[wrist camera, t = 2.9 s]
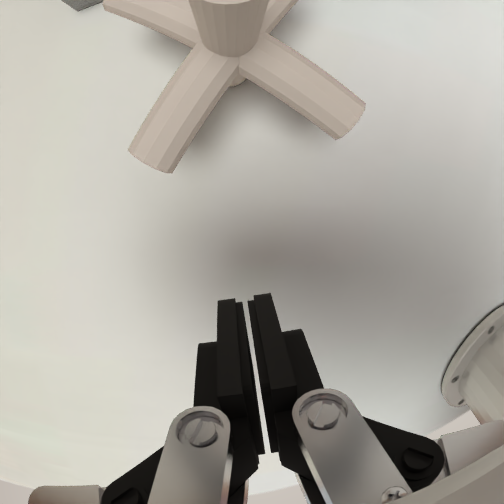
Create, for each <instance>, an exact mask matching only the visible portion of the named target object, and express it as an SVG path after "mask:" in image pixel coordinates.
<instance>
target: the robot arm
mask: <svg viewBox="0 0 504 504" xmlns="http://www.w3.org/2000/svg"><path fill="white" fill-rule="evenodd" d="M248 308H249V314H250V321H251V328H252V335H253V341H254V348H255V355H256V361H257V368H258V374H259V381H260V387H261V394H262V400H263V406H264V412H265V419H266V425H267V431H268V437H269V443H270V449H271V453H274V452H279V458H280V461H281V464H282V466H284V467H286V468H288V469H290V470H292V471H294V472H295V475H296V478H297V480H298V483H299V485H300V487H301V490H302V492H303V494H304V497H305V499H306V501H307V503H308V504H504V305H503V306H501V307H500V308H498V309H496V310H495V311H494V312H492V313H491V314H490V315H489V316H487V317H486V318H485V319H484V320H483V321H482V322H481V323H480V324H479V325H478V326H477V327H476V328H475V329H474V331H473V332H472V333H471V334H470V335H469V336H468V337H467V339H466V340H465V341H464V343H463V344H462V345H461V347H460V348H459V350H458V351H457V353H456V354H455V356H454V357H453V359H452V361H451V363H450V364H449V366H448V368H447V371H446V373H445V376H444V378H443V383H442V395H443V397H444V399H445V400H446V401H447V403H448V404H449V405H451V406H454V407H460V406H465V405H468V406H469V408H470V409H471V411H472V412H473V413H474V415H475V416H476V418H477V419H478V421H479V422H480V424H481V425H479V426H475V427H472V428H468V429H465V430H461V431H457V432H453V433H449V434H445V435H441V437H440V438H439V439H436V440H431V439H429V438H427V437H423V436H420V435H417V434H413V433H410V432H407V431H404V430H401V429H397V428H394V427H391V426H388V425H385V424H382V423H379V422H377V421H374V420H371V419H368V418H365V417H363V416H362V415H361V414H360V412H359V411H358V409H357V408H356V406H355V405H354V403H353V402H352V400H351V399H350V398H349V397H348V396H347V395H345V394H344V393H342V392H340V391H337V390H333V389H324V387H323V384H322V382H321V379H320V376H319V373H318V371H317V368H316V365H315V363H314V360H313V357H312V355H311V352H310V349H309V346H308V344H307V341H306V339H305V336H304V333H303V331H302V329H297V330H291V331H285V332H281V328H280V324H279V321H278V317H277V314H276V310H275V307H274V303H273V300H272V296H271V293H268V294H261V295H254V300H251V301H248ZM260 454H265V449H264V442H263V435H262V428H261V421H260V414H259V407H258V400H257V393H256V385H255V378H254V371H253V364H252V358H251V353H250V347H249V341H248V335H247V328H246V322H245V316H244V310H243V304H242V302H238V303H236V301H235V298H234V299H227V300H219V301H218V310H217V342H208V343H199V345H198V352H197V364H196V377H195V391H194V406H193V408H189V409H186V410H185V411H183V412H181V413H180V414H179V415H178V416H177V417H176V418H175V419H174V420H173V422H172V424H171V426H170V428H169V431H168V435H167V438H166V441H165V445H164V446H163V447H162V448H160V449H159V450H158V451H156V452H155V453H154V454H152V455H151V456H150V457H148V458H147V459H145V460H144V461H143V462H141V463H140V464H138V465H137V466H136V467H134V468H133V469H131V470H130V471H128V472H127V473H126V474H124V475H123V476H121V477H120V478H118V479H117V480H115V481H114V482H112V483H111V484H110V485H109V486H108V487H102V488H101V487H100V486H99V485H87V486H41V487H38V488H36V489H35V490H34V491H33V492H32V493H31V495H30V497H29V501H28V504H247V499H248V487H249V480H248V478H249V477H250V476H251V475H252V474H253V473H254V472H255V471H256V470H257V469H258V464H259V458H258V455H260Z"/></svg>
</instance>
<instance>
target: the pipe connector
mask: <svg viewBox="0 0 504 504" xmlns="http://www.w3.org/2000/svg"><path fill="white" fill-rule="evenodd" d="M297 1H298V0H103V6H104V9H105V10H106V11H108V12H111V13H114V14H116V15H119V16H122V17H124V18H127V19H129V20H132V21H134V22H137V23H139V24H142V25H144V26H146V27H149V28H151V29H153V30H155V31H158V32H160V33H162V34H164V35H166V36H169V37H171V38H173V39H175V40H177V41H179V42H181V43H183V44H185V45H187V46H189V47H191V48H193V49H192V50H191V51H190V53H189V54H188V56H187V57H186V58H185V60H184V61H183V62H182V64H181V65H180V67H179V68H178V69H177V71H176V72H175V74H174V75H173V77H172V78H171V80H170V81H169V82H168V84H167V85H166V87H165V88H164V90H163V92H162V93H161V95H160V96H159V98H158V99H157V101H156V102H155V104H154V106H153V107H152V109H151V110H150V112H149V114H148V115H147V117H146V119H145V120H144V122H143V124H142V125H141V127H140V129H139V131H138V132H137V134H136V136H135V138H134V139H133V141H132V143H131V145H130V147H129V148H128V151H129V152H130V153H131V154H132V155H133V156H134V157H136V158H137V159H138V160H140V161H141V162H143V163H145V164H147V165H149V166H151V167H153V168H154V169H157V170H160V171H162V172H165V173H173V171H174V169H175V168H176V166H177V164H178V163H179V161H180V159H181V158H182V156H183V154H184V153H185V151H186V150H187V148H188V146H189V145H190V143H191V142H192V140H193V139H194V137H195V135H196V134H197V132H198V131H199V129H200V128H201V126H202V125H203V123H204V122H205V120H206V119H207V117H208V116H209V114H210V113H211V111H212V110H213V108H214V107H215V105H216V104H217V102H218V101H219V100H220V98H221V97H222V95H223V94H224V92H225V91H226V90H227V88H228V87H231V86H237V85H239V84H241V83H242V82H244V81H245V80H246V78H247V79H248V80H250V81H252V82H253V83H255V84H256V85H258V86H260V87H261V88H263V89H264V90H266V91H267V92H269V93H271V94H272V95H274V96H275V97H277V98H278V99H280V100H281V101H283V102H284V103H286V104H287V105H288V106H290V107H291V108H293V109H294V110H296V111H297V112H299V113H300V114H301V115H303V116H304V117H306V118H307V119H308V120H310V121H311V122H312V123H314V124H315V125H317V126H318V127H319V128H321V129H322V130H323V131H325V132H326V133H327V134H329V135H330V136H331V137H332V138H334V139H335V140H337V139H339V138H342V137H343V136H344V135H345V134H347V133H348V132H349V131H350V130H351V129H352V128H353V127H354V125H355V124H356V123H357V122H358V120H359V119H360V117H361V116H362V114H363V112H364V110H365V105H366V103H365V102H363V101H362V100H361V99H360V98H359V97H357V96H356V95H355V94H354V93H353V92H351V91H350V90H349V89H348V88H346V87H345V86H344V85H343V84H341V83H340V82H339V81H337V80H336V79H335V78H333V77H332V76H331V75H329V74H328V73H327V72H325V71H324V70H323V69H321V68H320V67H319V66H317V65H316V64H314V63H313V62H311V61H310V60H309V59H307V58H306V57H304V56H303V55H301V54H300V53H298V52H297V51H295V50H294V49H292V48H291V47H289V46H287V45H286V44H284V43H283V42H281V41H280V40H278V39H276V38H275V37H273V36H271V35H270V32H271V31H272V30H273V29H274V28H275V26H276V25H277V24H278V23H279V22H280V20H281V19H282V18H283V17H284V16H285V15H286V14H287V12H288V11H289V10H290V9H291V8H292V7H293V6H294V5H295V3H296V2H297Z"/></svg>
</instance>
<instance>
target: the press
mask: <svg viewBox="0 0 504 504" xmlns="http://www.w3.org/2000/svg"><path fill="white" fill-rule="evenodd" d="M62 1H63V2H65V3H66V4H68V5H69V6H71V7H72V8H74V9H75V10H76V11H80V10H82V9H84V8H87V7H89V6H92V5H95V4H97V3H100V2H102V0H62Z"/></svg>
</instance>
